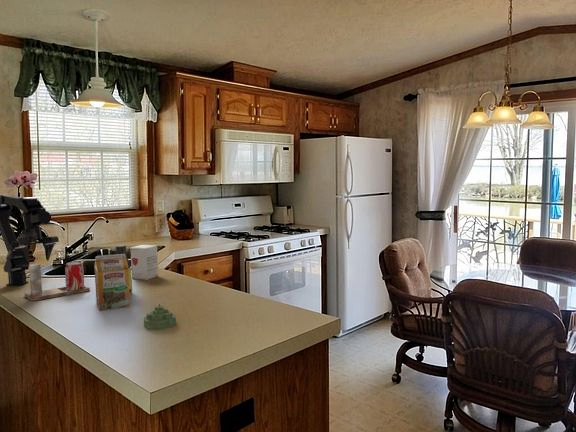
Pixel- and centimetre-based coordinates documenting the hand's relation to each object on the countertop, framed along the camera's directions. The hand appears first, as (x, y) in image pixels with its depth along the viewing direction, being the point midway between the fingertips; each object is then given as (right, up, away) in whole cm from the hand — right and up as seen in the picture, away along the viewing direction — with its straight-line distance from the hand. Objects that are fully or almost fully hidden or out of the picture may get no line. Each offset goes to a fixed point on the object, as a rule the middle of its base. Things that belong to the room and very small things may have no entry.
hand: (37, 261), depth 206 cm
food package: (+43, -14, -28) cm, 53 cm away
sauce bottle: (+41, -12, -11) cm, 44 cm away
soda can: (+19, -12, -6) cm, 23 cm away
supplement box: (+41, -10, +20) cm, 46 cm away
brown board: (+14, -12, -10) cm, 21 cm away
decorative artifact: (+67, -16, -53) cm, 87 cm away
